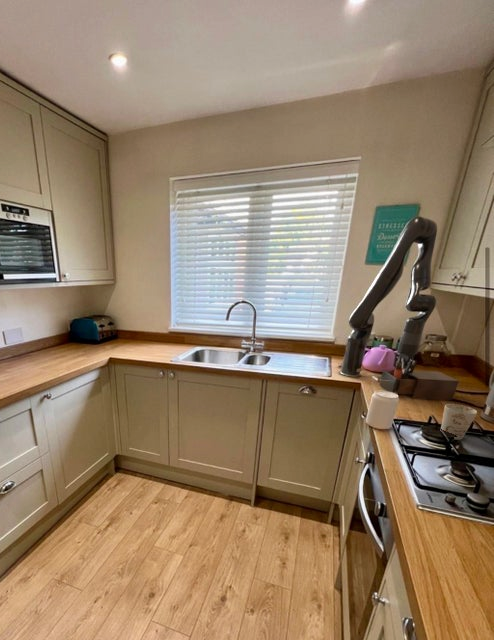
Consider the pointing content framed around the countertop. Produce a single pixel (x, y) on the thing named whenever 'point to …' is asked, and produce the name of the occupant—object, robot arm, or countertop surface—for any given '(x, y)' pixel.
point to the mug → (457, 419)
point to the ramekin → (398, 373)
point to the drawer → (396, 383)
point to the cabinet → (433, 385)
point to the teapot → (379, 359)
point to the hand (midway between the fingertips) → (399, 379)
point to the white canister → (382, 409)
